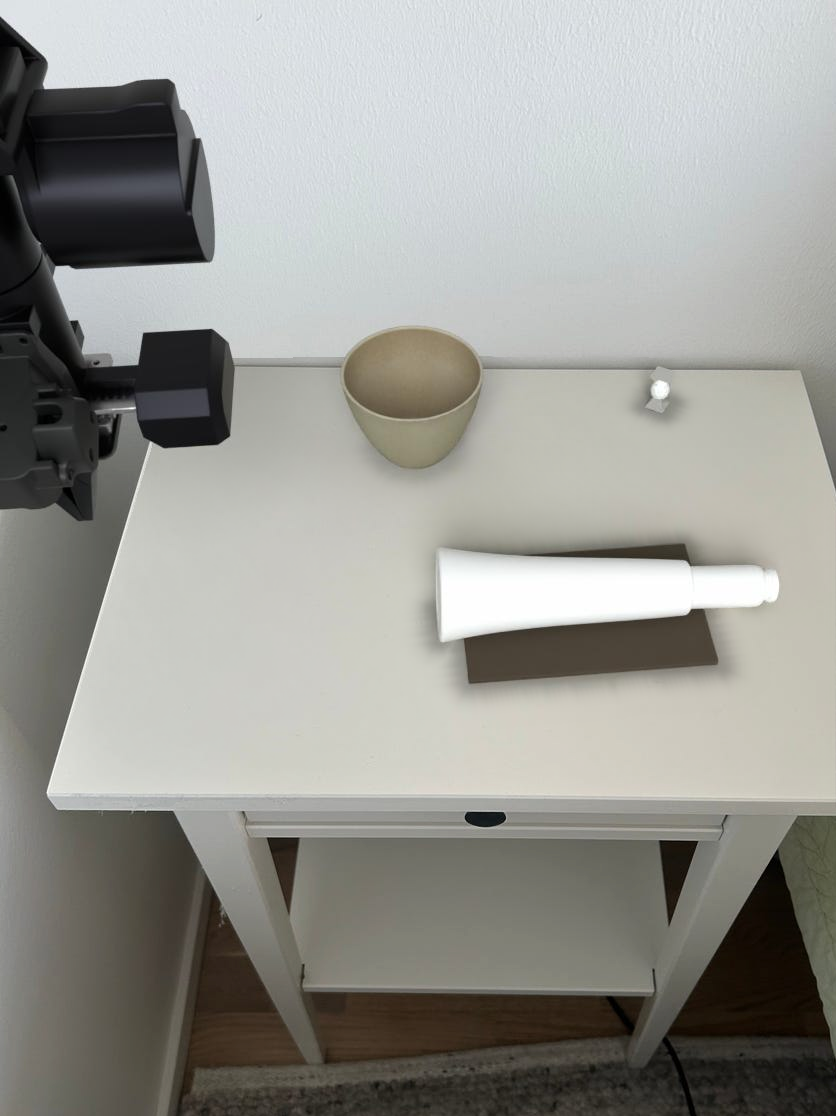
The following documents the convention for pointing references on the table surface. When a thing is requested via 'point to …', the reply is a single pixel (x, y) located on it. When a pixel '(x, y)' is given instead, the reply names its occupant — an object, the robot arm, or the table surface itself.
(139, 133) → the robot arm
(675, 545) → the mat
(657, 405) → the wrapped candy
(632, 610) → the cosmetic bottle
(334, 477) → the table surface
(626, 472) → the table surface
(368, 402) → the bowl
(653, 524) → the table surface
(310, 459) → the table surface
